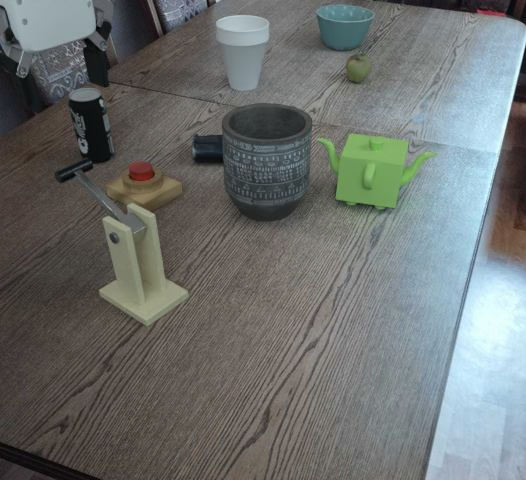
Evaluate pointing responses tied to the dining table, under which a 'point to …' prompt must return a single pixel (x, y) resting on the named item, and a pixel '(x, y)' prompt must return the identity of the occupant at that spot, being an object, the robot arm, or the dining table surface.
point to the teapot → (372, 169)
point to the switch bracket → (139, 271)
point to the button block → (144, 190)
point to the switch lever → (100, 195)
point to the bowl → (343, 25)
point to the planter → (266, 158)
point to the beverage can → (91, 124)
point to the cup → (243, 48)
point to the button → (141, 171)
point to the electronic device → (207, 148)
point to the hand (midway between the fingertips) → (67, 96)
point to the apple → (357, 67)
